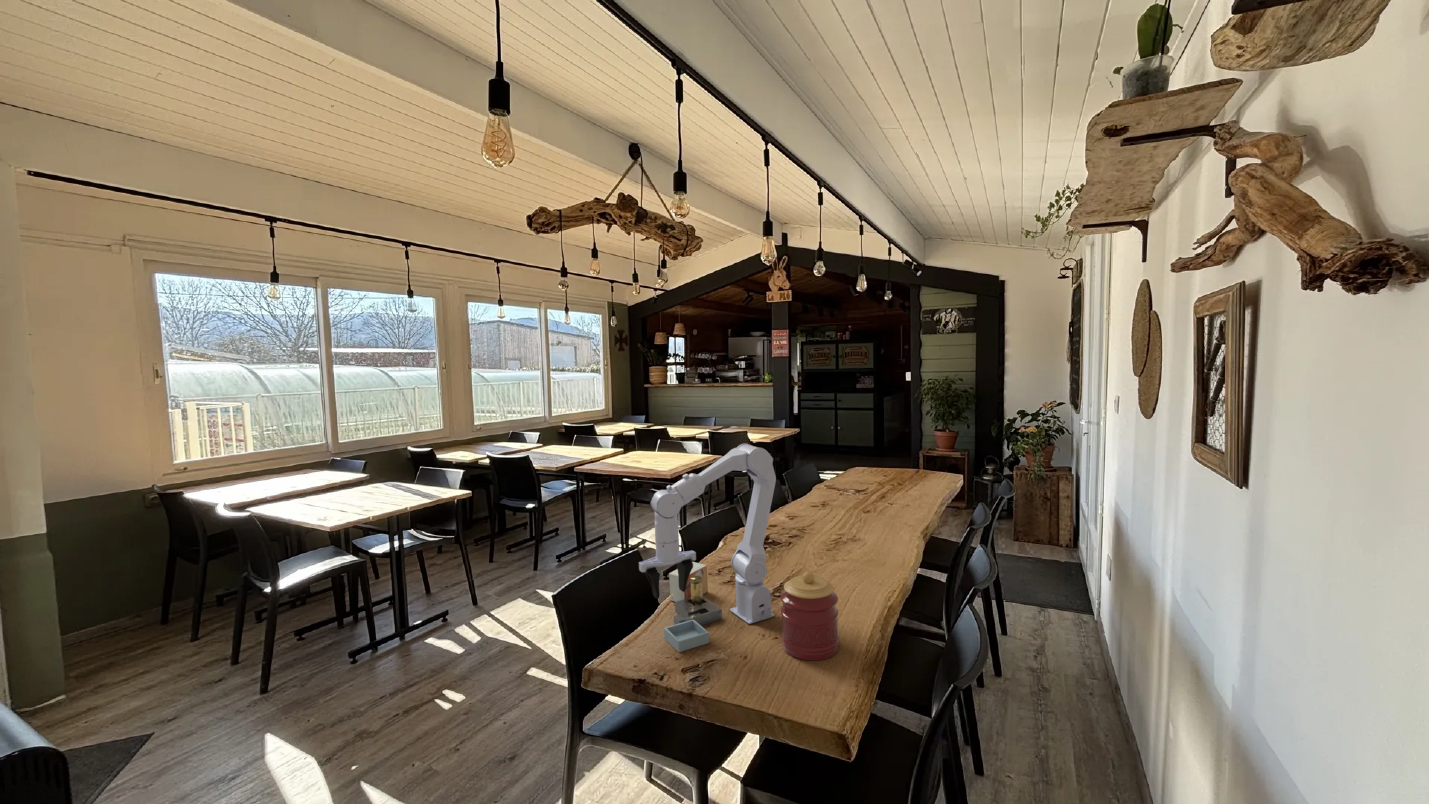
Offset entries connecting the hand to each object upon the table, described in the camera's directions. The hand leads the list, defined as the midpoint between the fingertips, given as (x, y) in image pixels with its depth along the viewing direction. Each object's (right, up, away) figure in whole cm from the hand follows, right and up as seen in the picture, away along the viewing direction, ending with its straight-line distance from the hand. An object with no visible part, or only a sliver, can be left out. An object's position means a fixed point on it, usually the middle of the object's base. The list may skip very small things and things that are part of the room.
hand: (669, 593), depth 137 cm
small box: (+7, -3, +24) cm, 26 cm away
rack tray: (+4, -10, -4) cm, 11 cm away
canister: (+33, -9, -9) cm, 36 cm away
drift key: (+5, -9, +3) cm, 11 cm away
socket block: (+7, -9, +8) cm, 14 cm away
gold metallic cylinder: (+7, -8, +11) cm, 15 cm away
